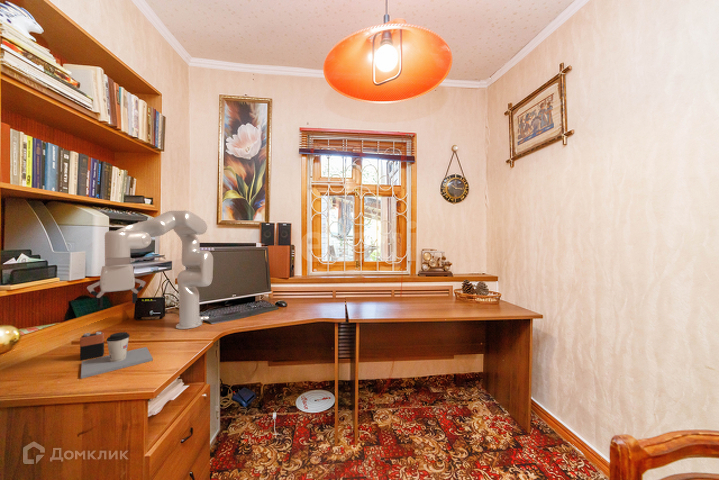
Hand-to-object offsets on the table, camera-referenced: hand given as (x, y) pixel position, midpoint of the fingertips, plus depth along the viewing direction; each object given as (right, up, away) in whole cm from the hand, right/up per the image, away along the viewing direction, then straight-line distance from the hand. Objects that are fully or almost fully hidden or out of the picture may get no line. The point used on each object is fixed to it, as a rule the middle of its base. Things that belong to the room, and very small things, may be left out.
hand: (118, 305), depth 107 cm
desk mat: (0, -23, 0) cm, 23 cm away
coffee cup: (0, -22, 0) cm, 22 cm away
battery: (-15, -23, +5) cm, 28 cm away
